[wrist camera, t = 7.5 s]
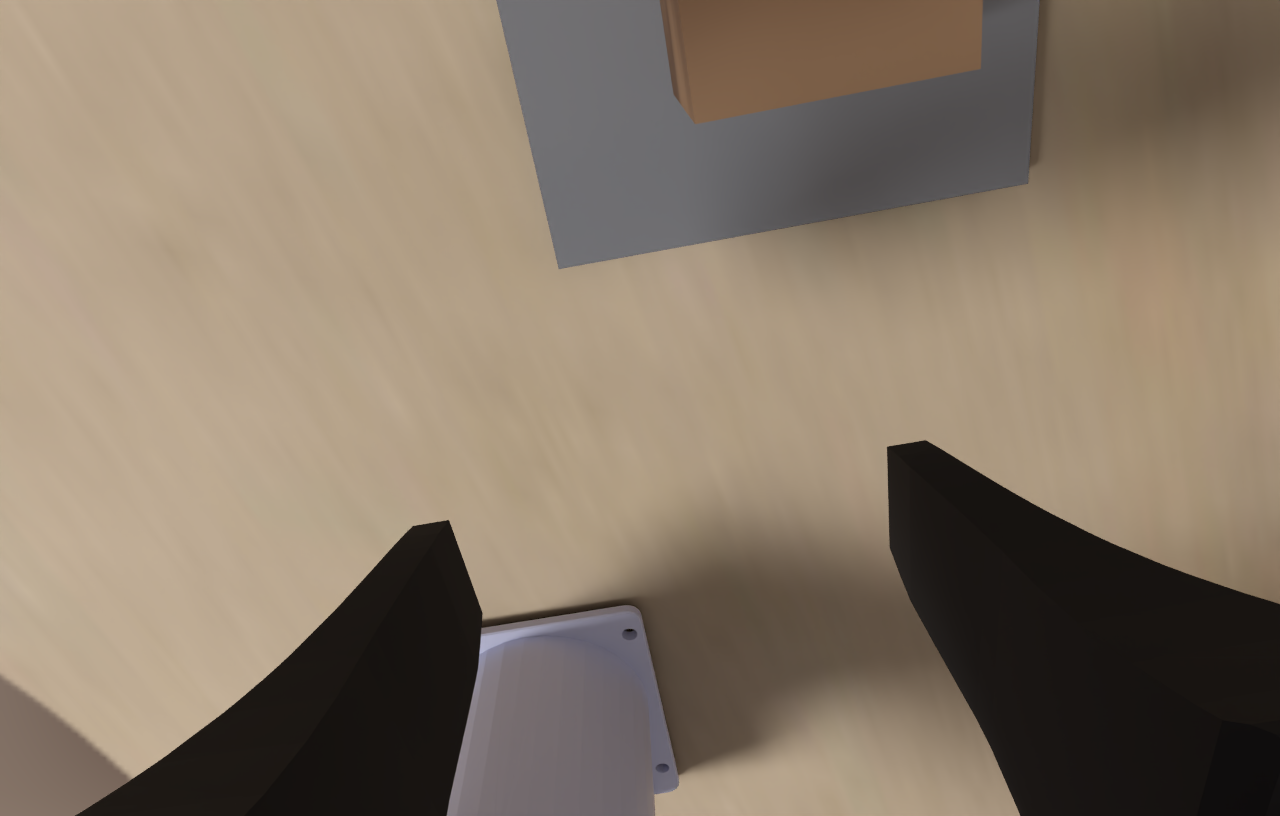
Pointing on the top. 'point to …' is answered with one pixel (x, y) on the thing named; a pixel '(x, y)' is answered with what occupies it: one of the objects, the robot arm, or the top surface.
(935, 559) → the robot arm
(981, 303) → the top surface
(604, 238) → the coaster
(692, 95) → the walnut cube
